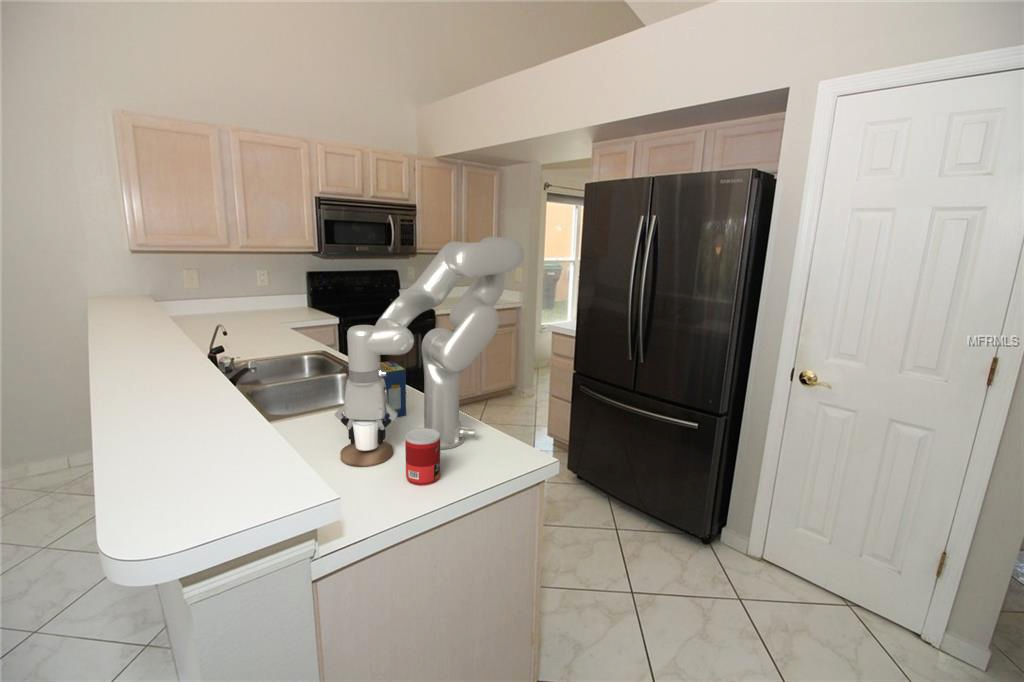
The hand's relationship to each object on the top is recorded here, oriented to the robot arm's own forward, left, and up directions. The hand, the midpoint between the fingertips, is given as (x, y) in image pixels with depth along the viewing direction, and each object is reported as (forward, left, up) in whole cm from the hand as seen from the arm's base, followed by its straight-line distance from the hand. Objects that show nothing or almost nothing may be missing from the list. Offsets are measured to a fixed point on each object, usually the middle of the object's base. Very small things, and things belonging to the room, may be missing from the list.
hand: (367, 441), depth 122 cm
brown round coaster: (0, 0, -4) cm, 4 cm away
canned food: (-16, +11, -4) cm, 20 cm away
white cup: (0, 0, -1) cm, 1 cm away
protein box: (+4, -27, -4) cm, 28 cm away
